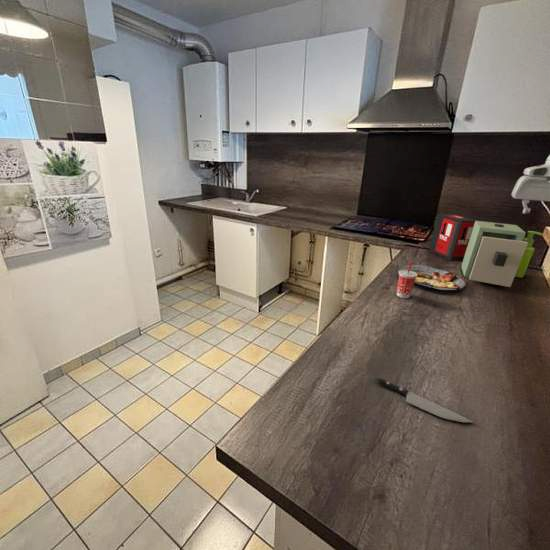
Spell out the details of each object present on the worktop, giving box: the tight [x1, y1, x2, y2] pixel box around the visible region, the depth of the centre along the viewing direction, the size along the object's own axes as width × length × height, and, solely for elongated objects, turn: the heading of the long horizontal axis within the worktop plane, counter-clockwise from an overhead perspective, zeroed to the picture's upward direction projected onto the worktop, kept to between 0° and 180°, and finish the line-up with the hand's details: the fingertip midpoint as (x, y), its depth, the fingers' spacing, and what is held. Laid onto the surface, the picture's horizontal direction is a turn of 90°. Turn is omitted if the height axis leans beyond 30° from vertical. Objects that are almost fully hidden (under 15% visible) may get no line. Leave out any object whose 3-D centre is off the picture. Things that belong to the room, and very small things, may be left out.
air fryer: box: [461, 220, 527, 279], centre depth 124 cm, size 14×15×23 cm
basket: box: [468, 236, 528, 288], centre depth 116 cm, size 17×14×18 cm
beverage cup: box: [396, 259, 417, 299], centre depth 105 cm, size 6×6×14 cm
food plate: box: [397, 264, 467, 292], centre depth 120 cm, size 25×23×4 cm
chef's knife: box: [376, 377, 474, 423], centre depth 61 cm, size 19×1×3 cm
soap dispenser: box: [514, 230, 545, 279], centre depth 126 cm, size 6×7×20 cm
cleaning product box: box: [428, 213, 478, 262], centre depth 149 cm, size 16×9×20 cm, turn 10°
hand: (543, 215), depth 96 cm, fingers open, 8 cm apart
